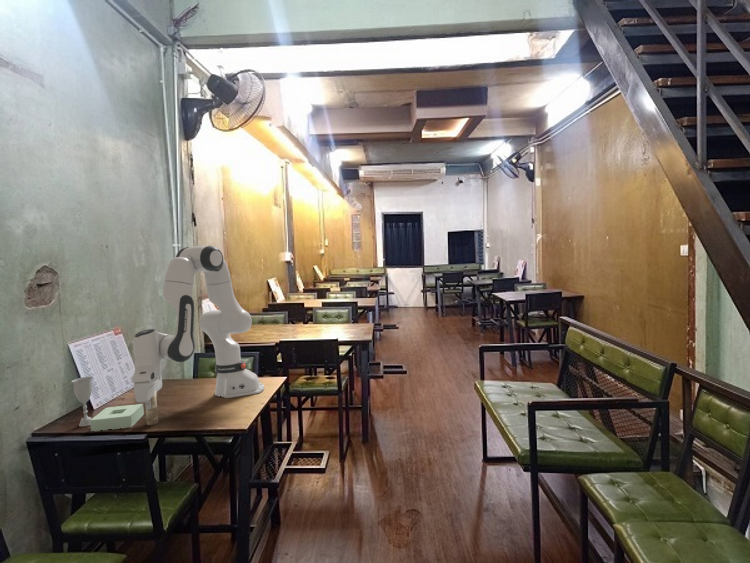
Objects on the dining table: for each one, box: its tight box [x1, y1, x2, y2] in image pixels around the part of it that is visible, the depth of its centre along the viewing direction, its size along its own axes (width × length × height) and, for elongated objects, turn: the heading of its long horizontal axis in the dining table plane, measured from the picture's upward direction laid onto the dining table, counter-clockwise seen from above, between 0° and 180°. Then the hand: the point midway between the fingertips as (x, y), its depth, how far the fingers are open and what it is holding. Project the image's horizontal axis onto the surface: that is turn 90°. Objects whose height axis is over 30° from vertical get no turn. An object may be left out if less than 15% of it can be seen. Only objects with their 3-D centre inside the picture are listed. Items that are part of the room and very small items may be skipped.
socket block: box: [90, 403, 145, 432], centre depth 170 cm, size 14×14×4 cm
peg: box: [144, 390, 159, 426], centre depth 168 cm, size 4×4×13 cm
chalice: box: [71, 376, 93, 427], centre depth 171 cm, size 7×7×18 cm
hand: (151, 406), depth 168 cm, fingers closed on peg, 4 cm apart
